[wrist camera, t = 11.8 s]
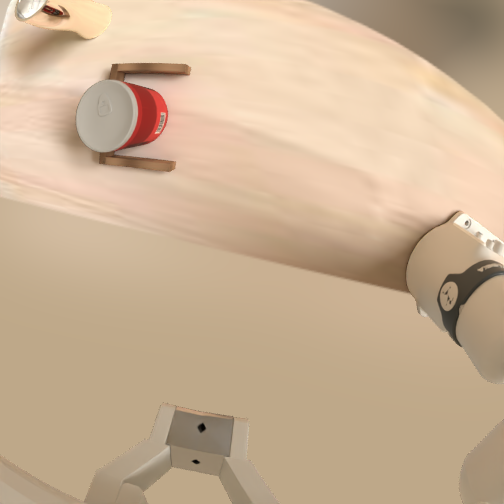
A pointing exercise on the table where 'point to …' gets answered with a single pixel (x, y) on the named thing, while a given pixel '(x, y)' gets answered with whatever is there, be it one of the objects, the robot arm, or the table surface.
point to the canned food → (119, 116)
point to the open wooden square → (119, 74)
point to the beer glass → (66, 15)
